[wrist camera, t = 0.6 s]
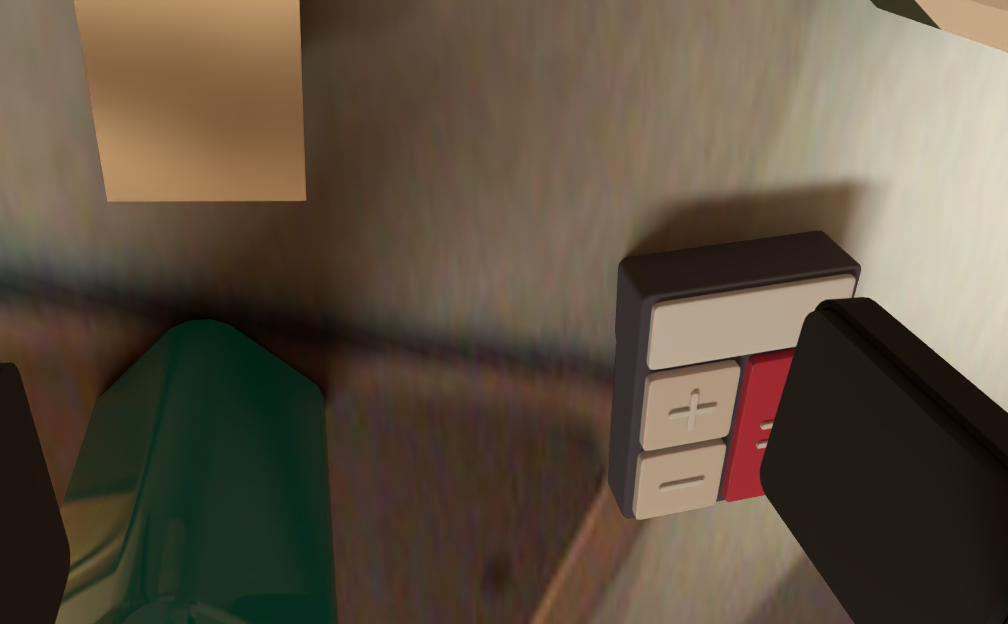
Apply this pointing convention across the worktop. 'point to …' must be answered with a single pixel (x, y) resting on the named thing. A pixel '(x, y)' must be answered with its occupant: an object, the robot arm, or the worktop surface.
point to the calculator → (709, 364)
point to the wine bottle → (958, 17)
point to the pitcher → (202, 491)
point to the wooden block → (196, 98)
